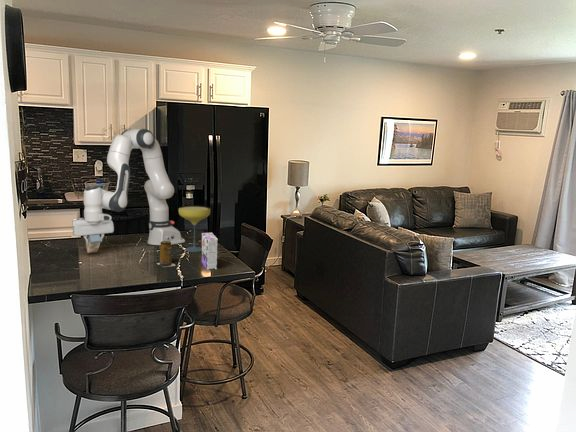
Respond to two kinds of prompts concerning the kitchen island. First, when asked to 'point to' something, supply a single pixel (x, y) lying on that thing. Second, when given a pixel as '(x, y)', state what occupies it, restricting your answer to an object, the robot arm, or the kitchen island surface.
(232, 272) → the kitchen island surface
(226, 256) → the kitchen island surface
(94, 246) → the flip block
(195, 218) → the cocktail glass
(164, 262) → the condiment
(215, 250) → the candy box
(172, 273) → the kitchen island surface
